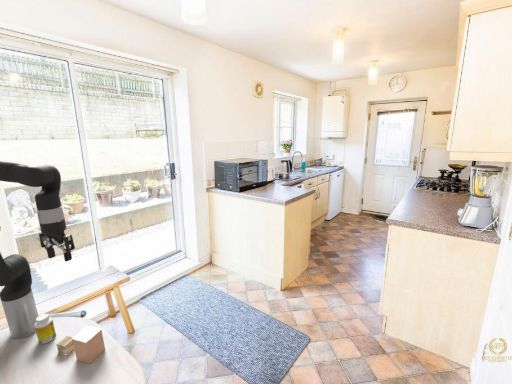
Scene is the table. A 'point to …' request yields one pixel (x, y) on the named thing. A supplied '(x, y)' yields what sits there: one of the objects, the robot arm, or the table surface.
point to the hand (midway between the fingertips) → (60, 258)
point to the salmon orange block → (88, 344)
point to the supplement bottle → (44, 328)
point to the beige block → (65, 345)
